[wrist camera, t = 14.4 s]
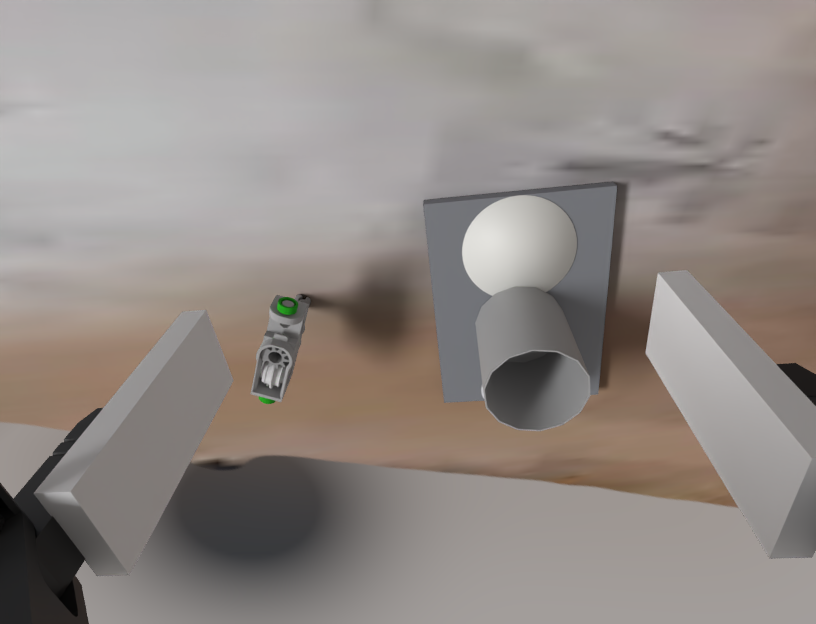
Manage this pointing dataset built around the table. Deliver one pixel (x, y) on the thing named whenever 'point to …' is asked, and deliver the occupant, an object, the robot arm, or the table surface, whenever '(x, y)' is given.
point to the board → (518, 268)
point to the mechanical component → (279, 348)
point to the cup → (529, 361)
